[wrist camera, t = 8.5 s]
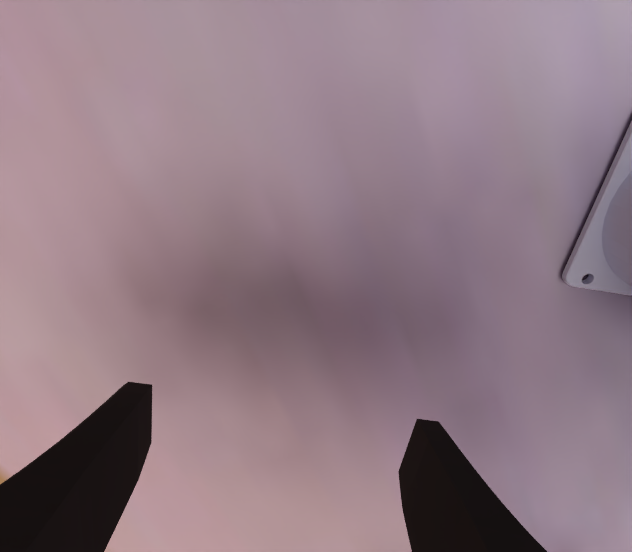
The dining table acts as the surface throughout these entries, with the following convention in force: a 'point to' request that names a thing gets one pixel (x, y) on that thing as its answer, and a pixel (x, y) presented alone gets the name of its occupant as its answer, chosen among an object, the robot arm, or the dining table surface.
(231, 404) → the dining table surface
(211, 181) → the dining table surface
